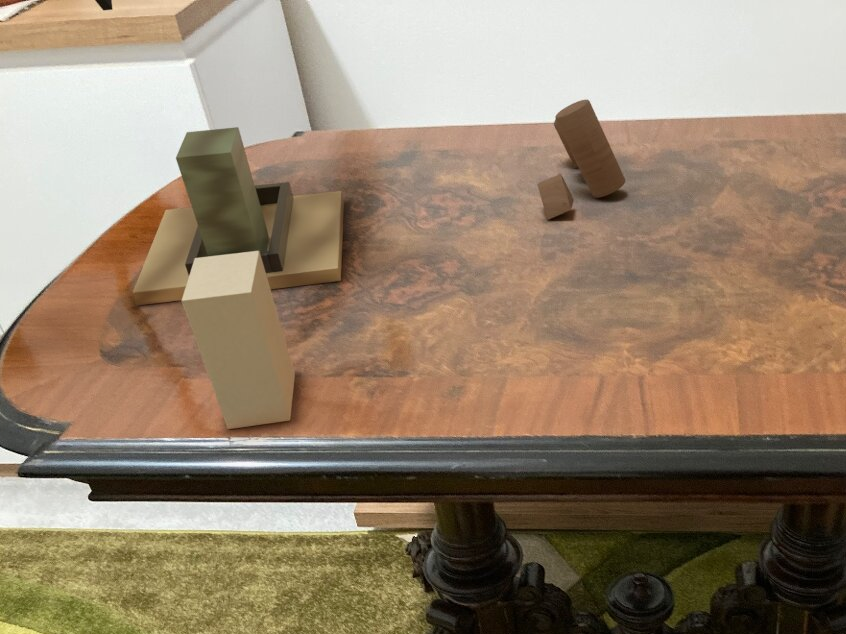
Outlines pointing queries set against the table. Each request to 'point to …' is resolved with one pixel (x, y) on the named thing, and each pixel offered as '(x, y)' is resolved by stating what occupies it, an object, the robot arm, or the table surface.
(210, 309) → the cream back pad
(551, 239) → the table surface
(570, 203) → the wooden block set
